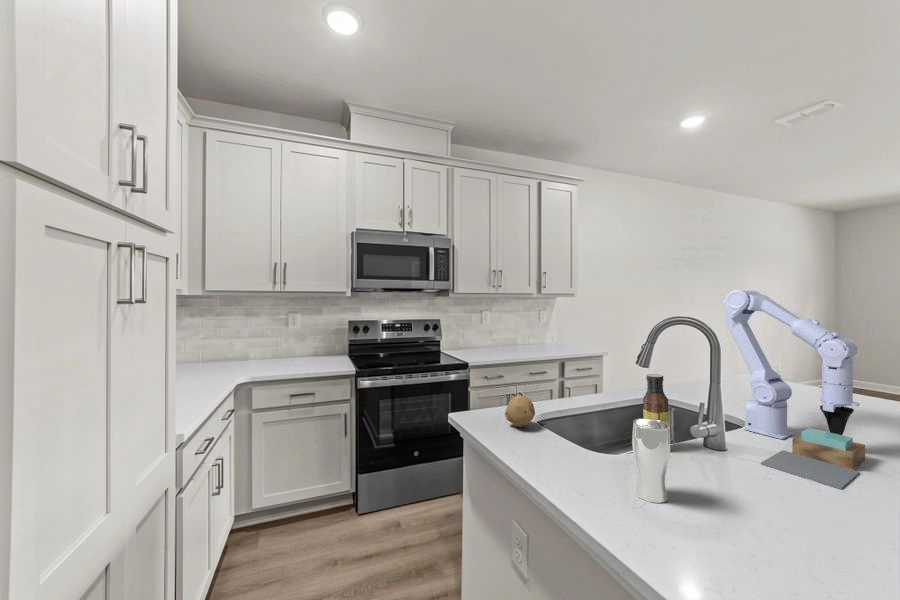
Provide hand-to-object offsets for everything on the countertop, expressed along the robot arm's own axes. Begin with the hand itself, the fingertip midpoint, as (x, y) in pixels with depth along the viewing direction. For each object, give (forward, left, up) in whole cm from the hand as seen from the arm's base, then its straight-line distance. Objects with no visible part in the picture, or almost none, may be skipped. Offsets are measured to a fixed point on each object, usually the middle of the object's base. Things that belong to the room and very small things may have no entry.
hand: (836, 434), depth 99 cm
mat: (0, -19, -5) cm, 20 cm away
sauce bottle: (-26, -38, -5) cm, 47 cm away
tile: (0, -8, -1) cm, 8 cm away
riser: (0, -7, -5) cm, 8 cm away
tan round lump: (-57, -60, -5) cm, 83 cm away
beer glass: (-13, -63, -5) cm, 65 cm away
